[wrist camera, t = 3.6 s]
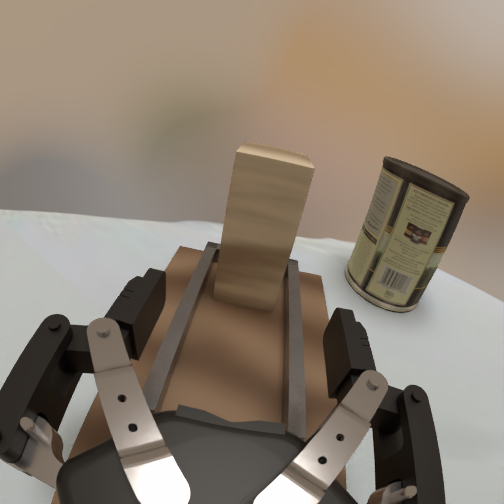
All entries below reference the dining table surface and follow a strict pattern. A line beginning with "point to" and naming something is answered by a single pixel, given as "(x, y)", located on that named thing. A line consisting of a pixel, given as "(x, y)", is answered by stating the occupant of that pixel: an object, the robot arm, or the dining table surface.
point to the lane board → (231, 354)
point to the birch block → (260, 224)
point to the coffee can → (404, 235)
